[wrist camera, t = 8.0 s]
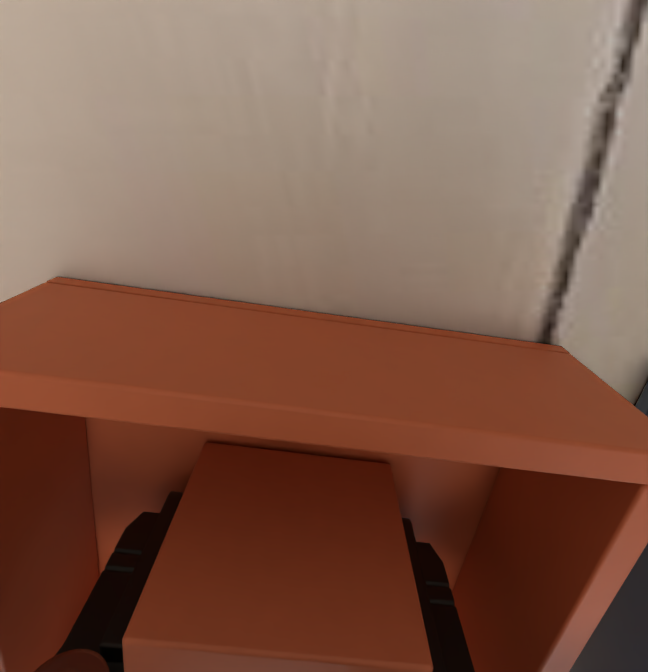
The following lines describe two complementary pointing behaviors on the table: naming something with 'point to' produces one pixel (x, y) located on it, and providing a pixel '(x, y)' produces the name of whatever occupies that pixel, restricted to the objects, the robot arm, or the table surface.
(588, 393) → the terracotta bin
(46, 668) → the robot arm
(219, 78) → the table surface
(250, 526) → the terracotta block
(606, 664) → the blue bin
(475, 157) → the table surface
